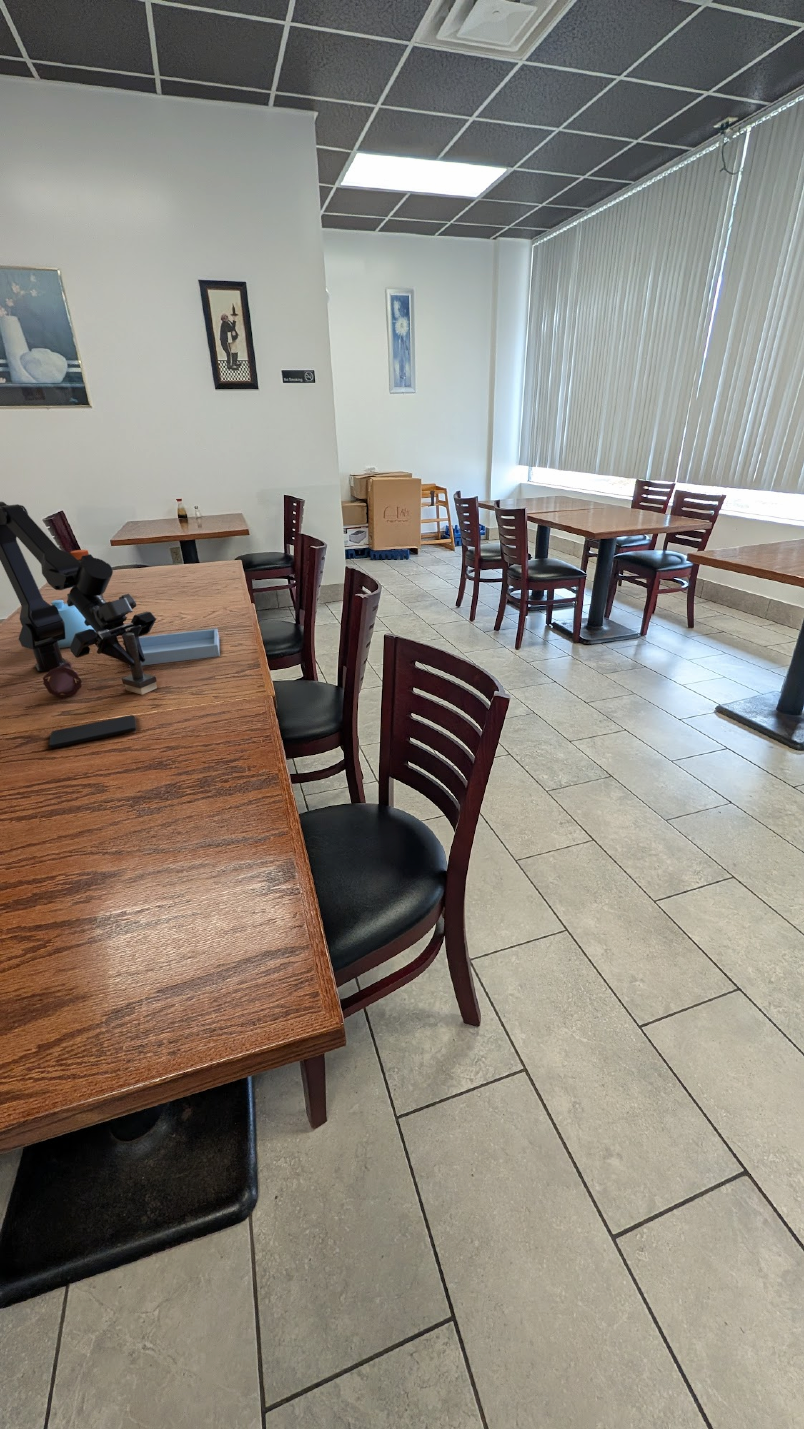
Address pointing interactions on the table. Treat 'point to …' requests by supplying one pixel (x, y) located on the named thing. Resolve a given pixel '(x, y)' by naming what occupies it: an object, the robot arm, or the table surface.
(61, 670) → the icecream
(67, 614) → the sugar bowl
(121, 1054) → the table surface
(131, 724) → the smartphone
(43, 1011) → the table surface
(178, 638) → the tray
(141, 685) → the brush
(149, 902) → the table surface
